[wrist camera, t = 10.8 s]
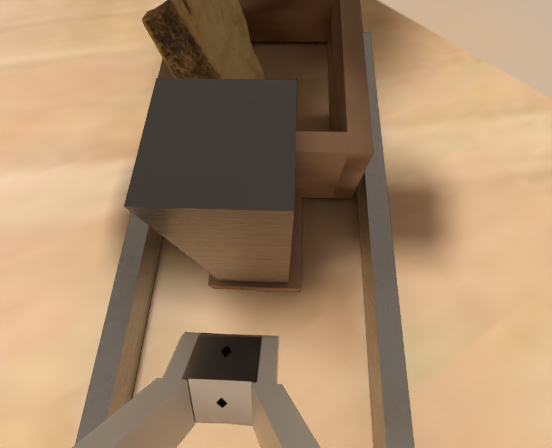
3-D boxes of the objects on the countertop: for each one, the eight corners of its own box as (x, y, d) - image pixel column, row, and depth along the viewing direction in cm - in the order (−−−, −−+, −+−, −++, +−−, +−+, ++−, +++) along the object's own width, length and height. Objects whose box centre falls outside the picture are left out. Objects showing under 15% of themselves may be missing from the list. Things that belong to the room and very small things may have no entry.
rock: (192, 20, 22) (114, 103, 17) (250, -103, 15) (145, -19, 10) (293, 118, 26) (252, 204, 22) (373, 58, 19) (336, 165, 15)
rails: (80, 530, 13) (46, 563, 11) (183, 55, 24) (174, 31, 22) (408, 555, 12) (430, 594, 11) (363, 56, 23) (370, 32, 21)
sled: (159, 286, 17) (-56, 210, 6) (206, 31, 24) (146, -200, 14) (356, 293, 16) (490, 226, 6) (341, 31, 24) (387, -208, 13)
